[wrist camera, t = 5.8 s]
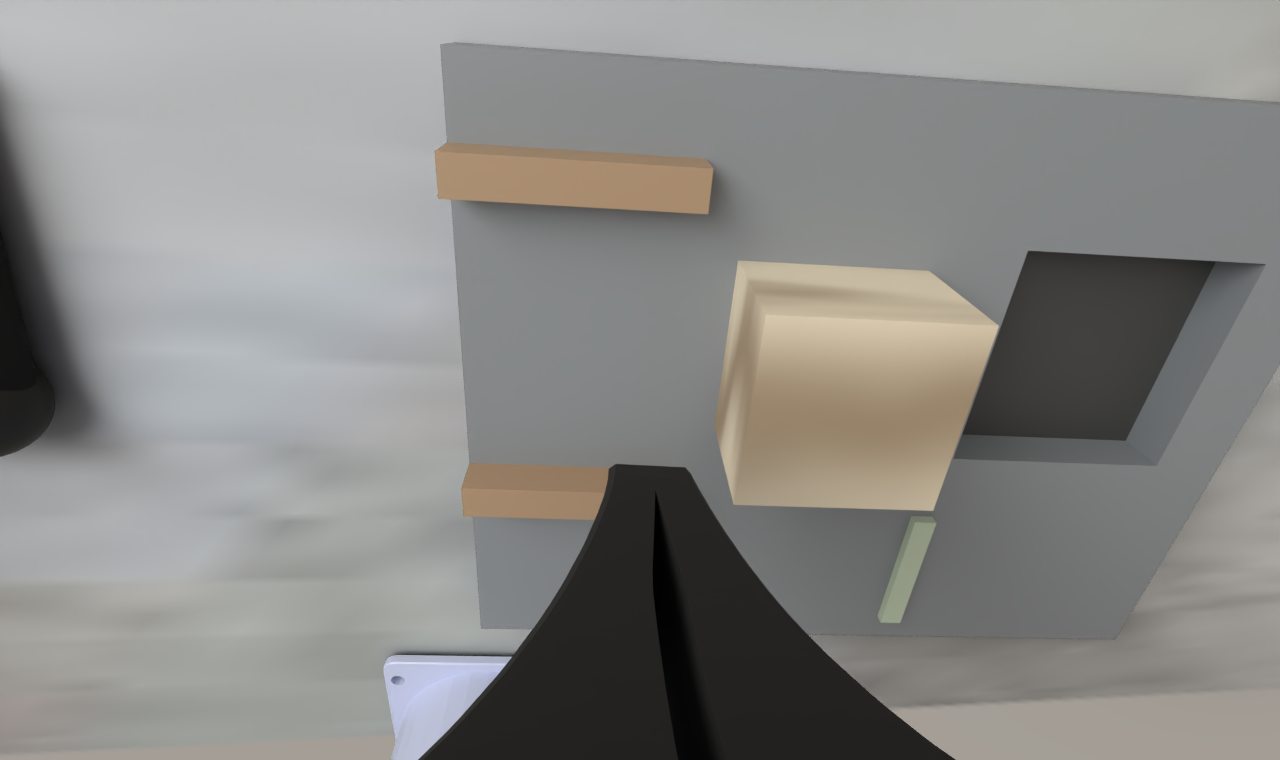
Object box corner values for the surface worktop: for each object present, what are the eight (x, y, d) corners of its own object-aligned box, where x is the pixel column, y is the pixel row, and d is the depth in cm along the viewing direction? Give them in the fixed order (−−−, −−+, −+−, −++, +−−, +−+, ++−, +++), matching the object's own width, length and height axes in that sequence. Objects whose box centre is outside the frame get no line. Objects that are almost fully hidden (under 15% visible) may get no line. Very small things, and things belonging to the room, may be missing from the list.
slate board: (1089, 607, 25) (1137, 668, 23) (488, 595, 24) (474, 658, 22) (1364, 108, 17) (1487, 123, 14) (455, 42, 15) (426, 46, 13)
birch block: (882, 432, 19) (933, 510, 16) (714, 426, 19) (733, 505, 16) (929, 270, 17) (998, 326, 14) (737, 260, 17) (766, 315, 14)
